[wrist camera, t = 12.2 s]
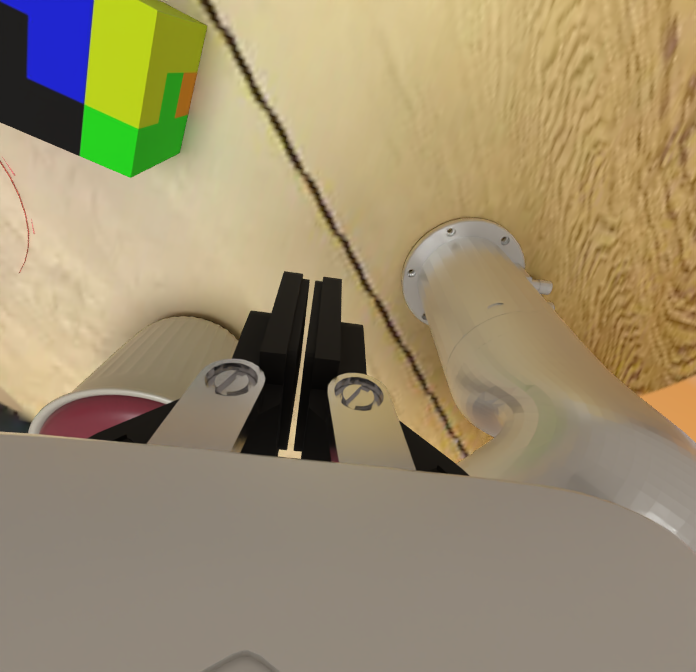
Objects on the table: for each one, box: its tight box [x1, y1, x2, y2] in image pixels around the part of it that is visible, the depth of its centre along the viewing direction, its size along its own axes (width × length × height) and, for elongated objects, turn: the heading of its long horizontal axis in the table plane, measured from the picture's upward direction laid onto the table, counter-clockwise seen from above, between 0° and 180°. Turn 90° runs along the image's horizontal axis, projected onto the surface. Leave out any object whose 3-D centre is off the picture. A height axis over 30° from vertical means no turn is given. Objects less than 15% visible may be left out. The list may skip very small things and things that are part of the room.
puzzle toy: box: [0, 0, 207, 178], centre depth 29 cm, size 10×10×10 cm
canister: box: [28, 316, 238, 439], centre depth 40 cm, size 18×18×21 cm
